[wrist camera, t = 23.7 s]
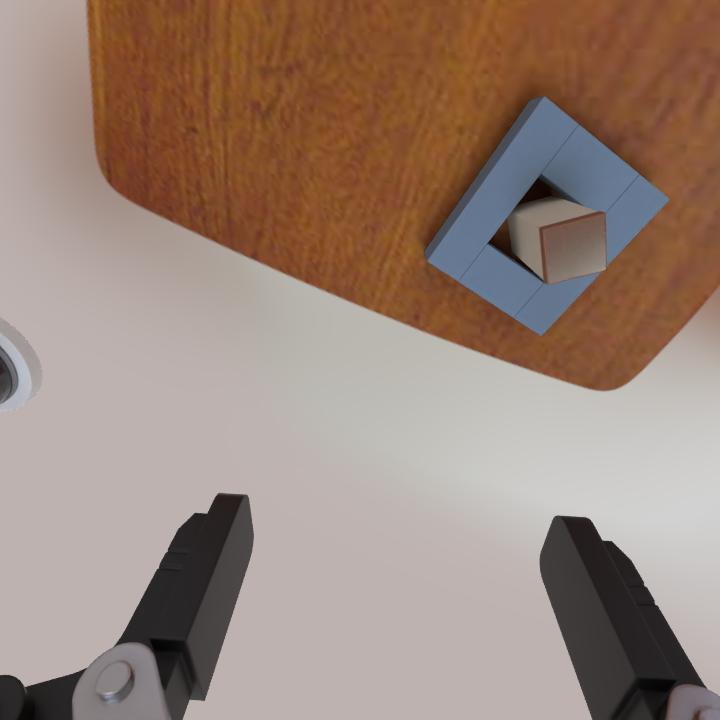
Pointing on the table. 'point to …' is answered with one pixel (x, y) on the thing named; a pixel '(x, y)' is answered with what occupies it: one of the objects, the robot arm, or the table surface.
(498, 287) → the blue square frame
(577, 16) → the table surface
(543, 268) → the brown square block
